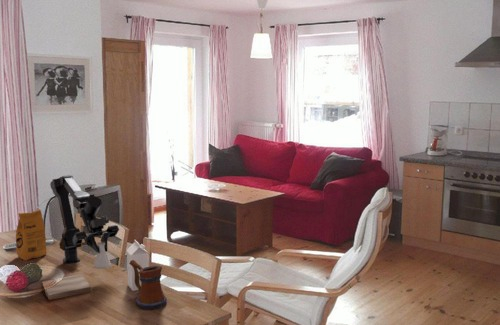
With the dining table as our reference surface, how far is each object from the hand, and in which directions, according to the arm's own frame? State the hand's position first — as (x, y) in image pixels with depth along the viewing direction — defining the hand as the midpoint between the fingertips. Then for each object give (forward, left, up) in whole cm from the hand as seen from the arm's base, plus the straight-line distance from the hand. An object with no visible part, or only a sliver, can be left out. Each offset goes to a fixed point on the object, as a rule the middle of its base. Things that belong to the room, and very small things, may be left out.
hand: (102, 251), depth 217 cm
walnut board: (-1, -15, -13) cm, 20 cm away
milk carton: (+12, +11, -13) cm, 21 cm away
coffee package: (-50, -21, -13) cm, 56 cm away
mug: (+27, +9, -13) cm, 31 cm away
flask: (-1, 0, -7) cm, 7 cm away
